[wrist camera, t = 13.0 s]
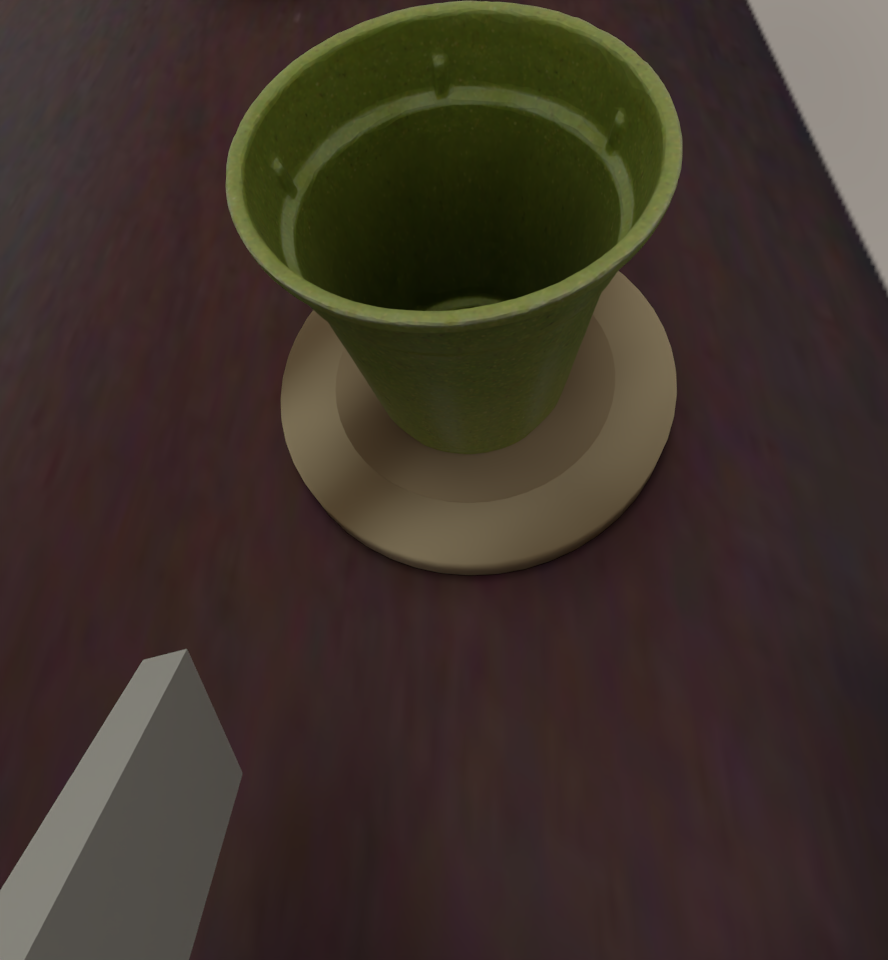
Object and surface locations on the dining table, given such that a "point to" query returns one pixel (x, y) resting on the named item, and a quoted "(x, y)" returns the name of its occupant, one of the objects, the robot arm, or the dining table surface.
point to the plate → (492, 475)
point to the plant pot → (457, 202)
